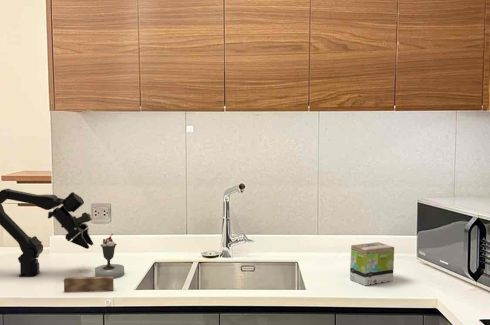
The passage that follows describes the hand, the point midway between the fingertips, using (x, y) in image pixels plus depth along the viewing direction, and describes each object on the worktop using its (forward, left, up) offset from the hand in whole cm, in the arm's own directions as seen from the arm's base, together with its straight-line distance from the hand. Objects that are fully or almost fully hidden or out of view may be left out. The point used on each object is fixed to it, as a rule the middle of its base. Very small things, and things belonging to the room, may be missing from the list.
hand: (90, 246), depth 203 cm
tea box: (+117, -18, -12) cm, 119 cm away
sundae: (+8, -2, -9) cm, 12 cm away
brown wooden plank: (+4, -22, -12) cm, 25 cm away
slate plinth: (+8, -2, -12) cm, 15 cm away
